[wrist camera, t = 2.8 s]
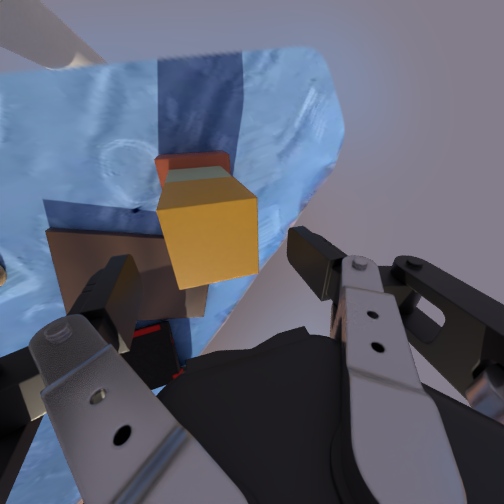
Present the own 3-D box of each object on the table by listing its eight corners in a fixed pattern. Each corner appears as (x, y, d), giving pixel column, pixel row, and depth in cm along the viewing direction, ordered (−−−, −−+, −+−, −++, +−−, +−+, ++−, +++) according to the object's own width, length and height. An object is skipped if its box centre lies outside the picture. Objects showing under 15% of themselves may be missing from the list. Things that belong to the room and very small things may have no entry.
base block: (173, 216, 26) (172, 228, 22) (157, 154, 22) (154, 159, 19) (228, 209, 27) (234, 219, 24) (222, 150, 24) (229, 153, 20)
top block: (179, 244, 17) (179, 290, 12) (164, 182, 14) (155, 209, 9) (237, 234, 18) (259, 273, 13) (233, 176, 16) (257, 196, 11)
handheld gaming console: (101, 340, 30) (129, 323, 40) (119, 424, 29) (143, 386, 39) (167, 321, 32) (179, 309, 41) (186, 399, 31) (193, 368, 41)
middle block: (179, 219, 22) (179, 244, 17) (168, 169, 19) (163, 182, 14) (225, 212, 23) (237, 234, 18) (220, 165, 21) (233, 176, 16)
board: (72, 319, 28) (69, 325, 28) (49, 227, 22) (44, 230, 21) (203, 312, 35) (203, 316, 34) (214, 238, 29) (215, 242, 28)
